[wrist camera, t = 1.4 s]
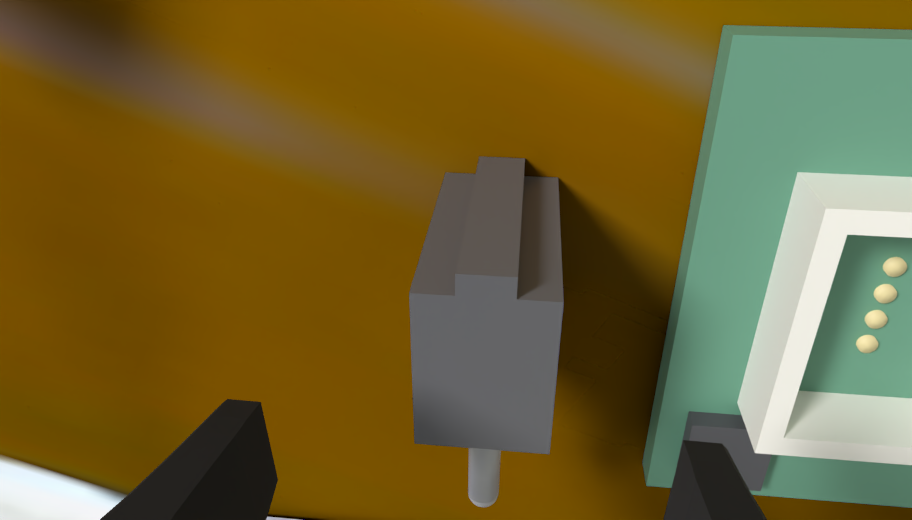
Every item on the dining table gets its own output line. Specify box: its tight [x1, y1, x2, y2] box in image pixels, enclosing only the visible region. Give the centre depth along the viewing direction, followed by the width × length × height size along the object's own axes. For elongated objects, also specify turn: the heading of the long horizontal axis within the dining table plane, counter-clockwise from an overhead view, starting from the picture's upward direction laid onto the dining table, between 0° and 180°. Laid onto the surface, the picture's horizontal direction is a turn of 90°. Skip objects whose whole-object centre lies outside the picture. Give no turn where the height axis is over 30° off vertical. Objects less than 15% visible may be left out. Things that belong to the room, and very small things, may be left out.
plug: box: [409, 157, 564, 507], centre depth 18 cm, size 8×3×6 cm, turn 0°
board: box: [642, 25, 912, 508], centre depth 18 cm, size 14×10×3 cm
